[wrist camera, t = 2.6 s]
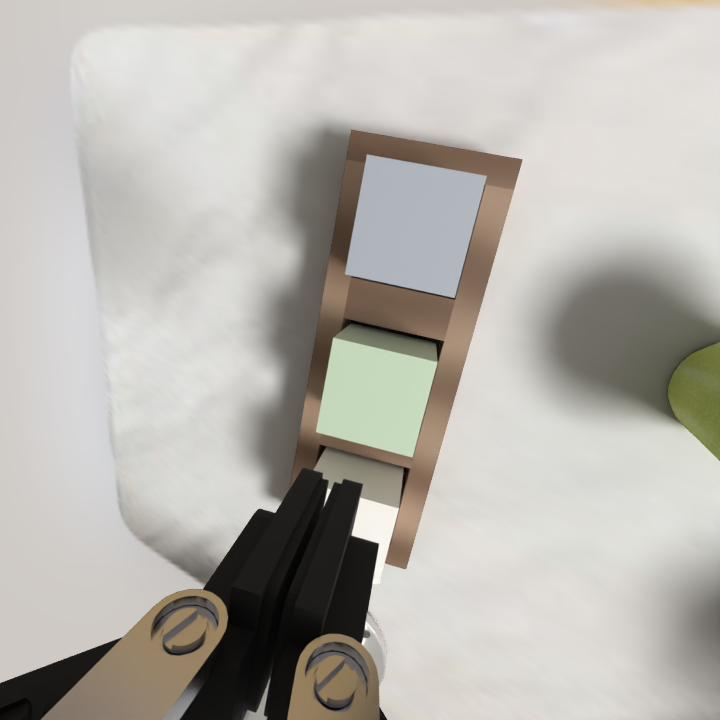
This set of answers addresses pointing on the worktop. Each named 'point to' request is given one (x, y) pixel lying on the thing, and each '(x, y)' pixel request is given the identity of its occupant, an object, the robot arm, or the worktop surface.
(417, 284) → the grey button
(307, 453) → the button housing
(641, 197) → the worktop surface
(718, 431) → the plant pot
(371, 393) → the sage button
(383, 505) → the white button
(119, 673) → the robot arm
